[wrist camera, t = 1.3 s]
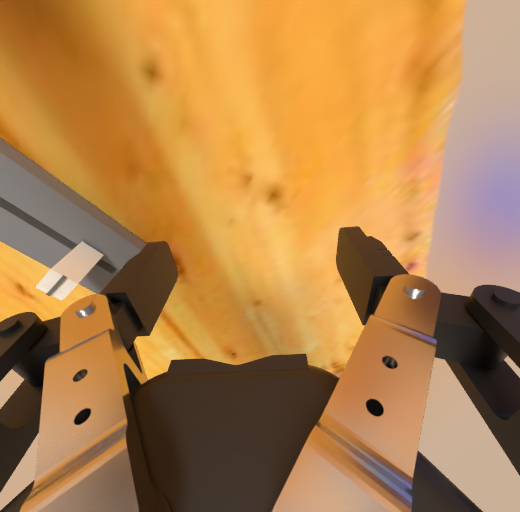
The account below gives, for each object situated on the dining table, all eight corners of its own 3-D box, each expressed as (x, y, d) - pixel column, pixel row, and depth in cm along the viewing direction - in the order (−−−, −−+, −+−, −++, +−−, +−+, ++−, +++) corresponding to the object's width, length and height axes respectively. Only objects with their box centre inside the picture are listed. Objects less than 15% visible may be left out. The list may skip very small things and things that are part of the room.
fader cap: (67, 258, 32) (33, 288, 27) (82, 240, 30) (49, 269, 25) (88, 270, 33) (61, 301, 28) (104, 254, 32) (77, 284, 27)
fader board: (-168, 139, 25) (-214, 144, 22) (-148, 30, 20) (-203, 21, 18) (113, 296, 39) (104, 309, 37) (160, 253, 35) (154, 265, 33)
